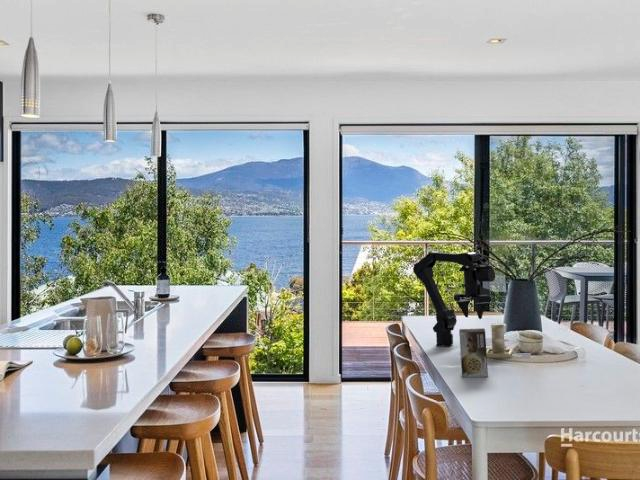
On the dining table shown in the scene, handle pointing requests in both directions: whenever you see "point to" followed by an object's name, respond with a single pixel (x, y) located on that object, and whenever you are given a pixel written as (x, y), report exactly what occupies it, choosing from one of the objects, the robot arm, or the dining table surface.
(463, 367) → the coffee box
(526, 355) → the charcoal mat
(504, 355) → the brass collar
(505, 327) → the shot glass
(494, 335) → the disc
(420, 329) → the dining table surface
